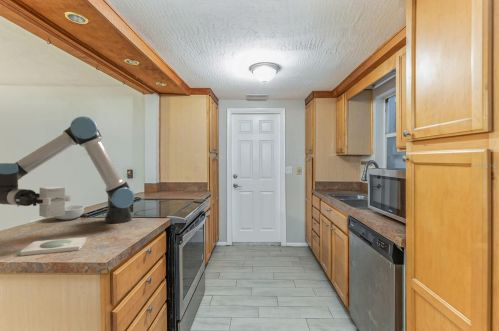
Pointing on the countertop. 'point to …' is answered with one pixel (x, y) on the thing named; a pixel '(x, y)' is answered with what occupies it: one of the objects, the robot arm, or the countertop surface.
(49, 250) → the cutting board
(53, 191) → the supplement box
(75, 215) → the cereal bowl
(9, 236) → the countertop surface
